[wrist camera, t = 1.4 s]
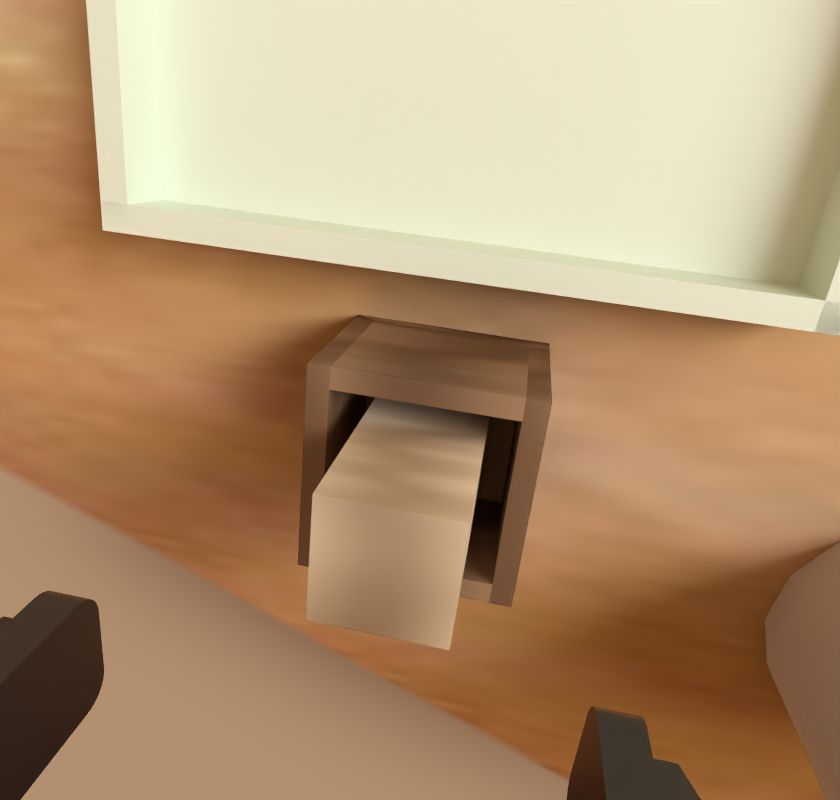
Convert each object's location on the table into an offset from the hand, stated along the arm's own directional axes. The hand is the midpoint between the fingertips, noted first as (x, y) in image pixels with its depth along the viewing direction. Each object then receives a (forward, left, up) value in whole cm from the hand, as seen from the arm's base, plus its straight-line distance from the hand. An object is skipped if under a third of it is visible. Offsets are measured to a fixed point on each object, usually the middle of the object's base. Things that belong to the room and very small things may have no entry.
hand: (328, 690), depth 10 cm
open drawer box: (0, 0, -12) cm, 12 cm away
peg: (0, 0, -11) cm, 11 cm away
